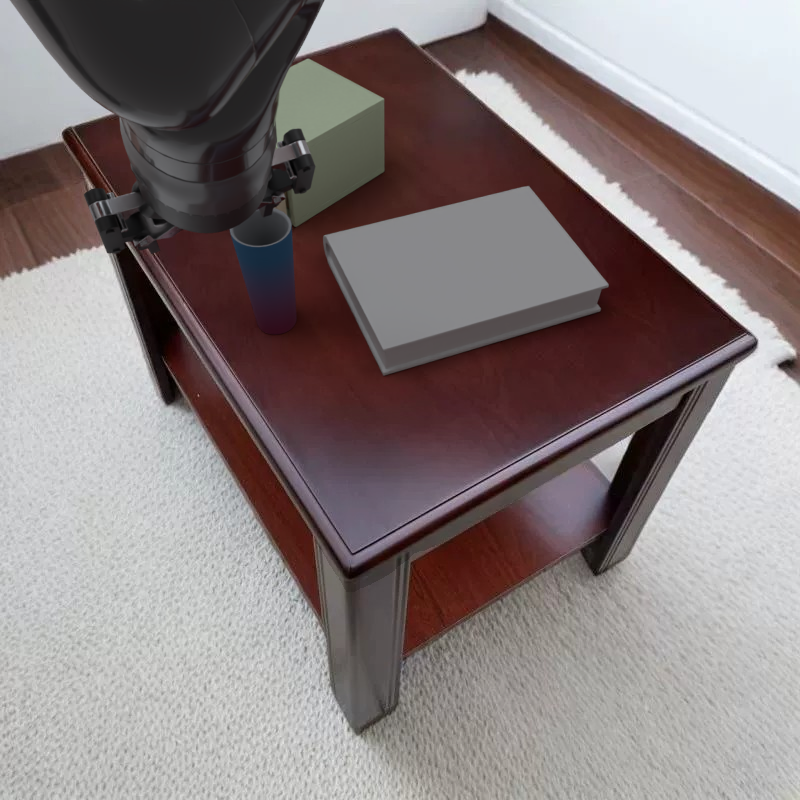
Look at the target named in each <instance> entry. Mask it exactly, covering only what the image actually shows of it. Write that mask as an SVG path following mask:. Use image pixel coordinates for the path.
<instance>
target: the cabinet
mask: <svg viewBox="0 0 800 800" xmlns="http://www.w3.org/2000/svg"><path fill="white" fill-rule="evenodd" d="M298 128H299V129H301V130H302V132H303V135H304V137H305V140H306V143H307V145H308V148H309V150H310V153H311V156H312V158H313V161H314V164H315V166H316V167H315V171H314V175H313V180H312V184H311V188H310V189H309V190H307V192H305V193H303V194H300V193H299V194H295V193H294V191H293V189H291V190H289V191H287V194H288V202H289V208H288V207H286V210H287V216H288V217H289V218H290V220H291V224H292V227H293V226H294V228H297V227H299V226H300V225H302V224H304V223H306V222H307V221H308V220H309V219H311V218H313V217H315V216H316V215H317V214H319V213H321V212H322V211H324V210H326V209H327V208H329V207H330V206H332V205H334V204H335V203H336V202H338V201H340V200H341V199H343V198H345V197H347V196H348V195H349V194H351V193H353V192H355V191H356V190H357V189H359V188H360V187H361V188H362V186H364V185H365V184H367V183H369V182H370V181H372V180H373V179H375V178H376V177H378V176H379V175H381V174H383V173H384V172H385V98H384V97H382V96H380V95H378V94H376V93H375V92H372V91H371V90H368V89H367V88H365V87H363V86H361V85H359V84H358V83H356V82H354V81H352V80H350V79H348V78H346V77H344V76H342V75H340V74H339V73H336V72H335V71H333V70H331V69H330V68H327V67H325V66H324V65H321V64H320V63H318V62H316V61H314V60H312V59H310V58H306V59H304V60H302V61H300V62H297V63H296V64H294V65H291V66H290V68H289V70H288V73H287V75H286V77H285V79H284V81H283V84H282V86H281V88H280V96H279V105H278V110H277V115H276V130H277V143H278V142H279V141H283V137H284V134H285V133H287V132H288V131H289V130H291V129H298ZM277 143H276V148H275V149H277V148H278V146H277Z"/></svg>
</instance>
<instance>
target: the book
mask: <svg viewBox="0 0 800 800" xmlns="http://www.w3.org/2000/svg"><path fill="white" fill-rule="evenodd" d="M322 244H323V245H322V246H323V250H324V254H325V258H326V260H327V264H328V266H329V269H330V271H331V272H332V274H333V276H334V278H335V281H336V282H337V285H338V286H339V288H340V291H341V293H342V294H343V297H344V299H345V302H346V303H347V305H348V307H349V309H350V311H351V313H352V316H353V317H354V319H355V321H356V323H357V325H358V327H359V329H360V331H361V333H362V335H363V337H364V339H365V341H366V343H367V346H368V347H369V350H370V351H371V354H372V355H373V358H374V359H375V362H376V364H377V366H378V368H379V370H380V372H381V374H382V376H384V377H385V376H388V375H390V374H394V373H398V372H401V371H405V370H407V369H411V368H415V367H418V366H422V365H425V364H429V363H431V362H435V361H438V360H441V359H445V358H448V357H452V356H455V355H458V354H462V353H465V352H468V351H472V350H475V349H479V348H482V347H485V346H489V345H492V344H495V343H499V342H501V341H505V340H508V339H513V338H516V337H518V336H522V335H526V334H529V333H532V332H536V331H539V330H543V329H547V328H549V327H552V326H556V325H559V324H562V323H566V322H569V321H572V320H577V319H579V318H583V317H586V316H589V315H593V314H597V313H599V312H601V310H602V308H601V307H600V305H599V304H598V302H599V299H600V296H601V292H602V290H604V289H607V288H609V283H608V282H607V280H606V279H605V278H604V277H603V275H601V273H600V272H599V271H598V269H597V268H596V267H595V266H594V265H593V263H592V262H591V261H590V259H589V258H588V257H587V256H586V255H585V253H584V252H583V251H582V250H581V248H580V247H579V246H578V245H577V243H576V242H575V241H574V240H573V239H572V237H571V236H570V235H569V234H568V232H567V231H566V230H565V228H564V227H563V226H562V225H561V224H560V223H559V221H558V220H557V219H556V218H555V216H554V215H553V214H552V212H550V210H549V209H548V208H547V206H546V205H545V203H544V202H543V201H542V200H541V199H540V197H538V195H537V194H536V193H535V191H534V190H533V189H532V188H531V187H530V185H526V186H521V187H517V188H512V189H509V190H504V191H500V192H497V193H492V194H488V195H484V196H480V197H475V198H472V199H468V200H464V201H463V200H462V201H459V202H456V203H452V204H447V205H443V206H438V207H435V208H431V209H426V210H422V211H418V212H415V213H410V214H406V215H402V216H398V217H394V218H389V219H385V220H380V221H378V222H374V223H370V224H364V225H361V226H357V227H352V228H348V229H345V230H344V229H343V230H340V231H336V232H331V233H327V234H325V235H323V237H322Z"/></svg>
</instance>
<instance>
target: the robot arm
mask: <svg viewBox="0 0 800 800" xmlns="http://www.w3.org/2000/svg"><path fill="white" fill-rule="evenodd" d="M9 1H10V3H11V4H12V5H13V7H14V8H15V10H16V11H17V12H18V14H19V15H20V17H21V18H22V19H23V20H24V22H25V24H26V25H27V26H28V27H29V29H30V30H31V31H32V33H33V35H35V37H36V38H37V39H38V42H40V43H41V45H42V47H43V48H44V49H45V50H46V52H47V53H48V54H49V55H50V56H51V58H52V59H53V60H54V62H56V64H57V65H58V66H59V67H60V68H61V69H62V70H63V72H64V73H65V74H66V75H67V77H68V78H69V79H70V80H71V81H72V82H73V83H74V84H75V85H76V86H77V87H78V88H79V89H80V91H83V92H84V94H85V95H87V96H88V97H89V98H90V99H92V100H93V101H94V102H96V103H97V104H98V105H99V106H101V107H103V109H105V110H108V112H109V113H112V114H114V115H116V116H117V117H118V118H119V129H120V134H121V138H122V144H123V146H124V149H125V153H126V155H127V158H128V160H129V163H130V164H129V165H130V169H131V171H132V173H133V175H134V177H135V180H136V181H135V182H134V183H133V184H132V187H131V192H130V193H124V194H123V195H118V196H116V195H115V193H114V192H106V190H105V188H102V187H95V188H91V189H89V190H88V191H86V192H85V193H83V197H84V199H85V202H86V204H87V208H88V209H89V212H90V214H91V217H92V220H93V222H94V225H95V227H96V229H97V232H98V234H99V237H100V238H101V239H100V240H101V241H102V244H103V247H104V249H105V251H106V253H107V254H115V255H116V254H119V253H121V252H122V251H123V250H125V249H126V245H125V243H131V242H133V244H134V247H135V248H137V250H138V251H145V250H147V249H148V250H149V252H150V255H152V254H156V253H158V252H161V249H160V246H159V244H158V243H159V242H158V241H157V240H161V239H170V238H173V237H175V236H176V235H177V234H179V233H181V232H182V231H187V232H192V233H197V234H216V233H217V234H218V233H221V232H226V231H230V229H231V228H234V227H236V226H238V225H240V224H241V223H243V222H244V221H246V220H247V219H248V218H249V217H250V216H251V215H252V214H253V213H254V212H255V211H256V210H258V209H259V210H260V213H261V215H262V217H266V216H269V215H272V212H273V208H275V207H277V206H278V205H279V204H280V203H281V202H282V201H283V200H285V198H286V197H285V195H284V193H285V192H287V191H289V190H291V189H293V191H294V193H295V194H299V193H300V194H303V193H305V192H307V190H309V189H310V188H311V184H312V180H313V175H314V171H315V167H316V166H315V164H314V161H313V158H312V156H311V153H310V150H309V148H308V145H307V143H306V140H305V137H304V135H303V132H302V130H301V129H299V128H298V129H291V130H289V131H288V132H287V133H285V134H284V137H283V141H279V142H278V143H277V130H276V115H277V110H278V105H279V96H280V88H281V86H282V84H283V81H284V79H285V77H286V75H287V73H288V70H289V68H290V67H292V66H293V63H294V61H295V59H296V57H297V56H298V54H299V53H300V50H301V49H302V47H303V45H304V43H305V41H306V39H307V38H308V35H309V33H310V31H311V29H312V27H313V25H314V23H315V21H316V19H317V17H318V15H319V13H320V11H321V8H322V7H323V5H324V2H325V0H9ZM276 143H277V146H278V148H277V149H275V148H276Z"/></svg>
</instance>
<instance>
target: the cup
mask: <svg viewBox="0 0 800 800" xmlns="http://www.w3.org/2000/svg"><path fill="white" fill-rule="evenodd" d="M229 234H230V237H231V241H232V244H233V247H234V250H235V254H236V257H237V260H238V264H239V267H240V271H241V274H242V278H243V281H244V284H245V288H246V292H247V295H248V298H249V301H250V305H251V307H252V311H253V314H254V319H255V322H256V325H257V327H258V328H259V329H260V330H261V331H262V332H264V333H265V334H268V335H283V334H285V333H287V332H289V331H291V330H292V329H293V328H294V327H295V325H296V324H297V319H298V317H297V300H296V298H297V297H296V285H295V284H296V281H295V263H294V243H293V241H294V240H293V225H292V224H291V220H290V218H289V217H288V216H287V215H286V214H285V213H284V212H282V211H280V210H278V209H275V208H273V212H272V215H269V216H266V217H262V215H261V213H260V210H259V209H258V210H256V211H255V212H254V213H253V214H252V215H251V216H250V217H249V218H248V219H247V220H246V221H244V222H243V223H241V224H240V225H238V226H236V227H234V228H231V229H229Z"/></svg>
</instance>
